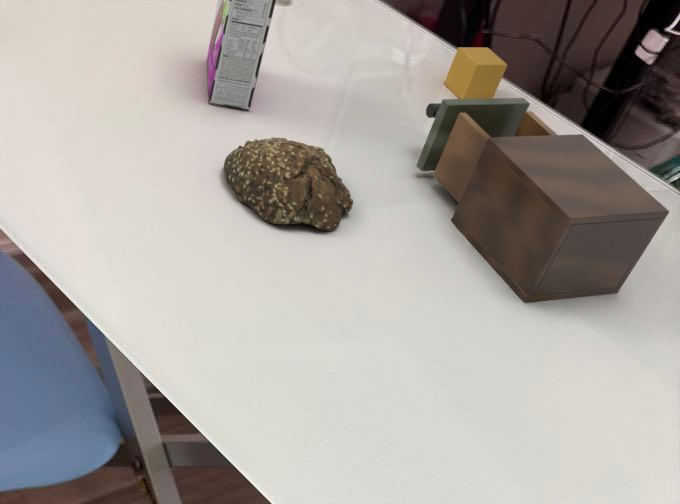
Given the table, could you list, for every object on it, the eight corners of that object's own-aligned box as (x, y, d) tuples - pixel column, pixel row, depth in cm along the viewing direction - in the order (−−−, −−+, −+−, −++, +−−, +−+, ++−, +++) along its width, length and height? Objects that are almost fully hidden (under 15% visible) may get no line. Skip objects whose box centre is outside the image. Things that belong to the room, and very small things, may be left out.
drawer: (396, 143, 106) (421, 77, 100) (473, 141, 109) (501, 77, 104) (477, 233, 96) (510, 165, 91) (559, 227, 100) (595, 162, 94)
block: (443, 83, 120) (458, 46, 117) (472, 83, 121) (488, 47, 118) (462, 101, 117) (477, 64, 114) (491, 101, 119) (508, 64, 115)
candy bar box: (203, 59, 113) (236, -101, 101) (245, 66, 114) (283, -92, 102) (205, 105, 106) (240, -62, 94) (250, 112, 107) (291, -52, 94)
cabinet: (450, 220, 99) (488, 137, 92) (540, 214, 103) (582, 133, 96) (524, 302, 91) (571, 218, 84) (618, 293, 95) (670, 211, 88)
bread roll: (210, 160, 99) (221, 113, 95) (321, 161, 102) (336, 115, 99) (252, 234, 91) (266, 186, 87) (370, 233, 95) (388, 186, 91)
